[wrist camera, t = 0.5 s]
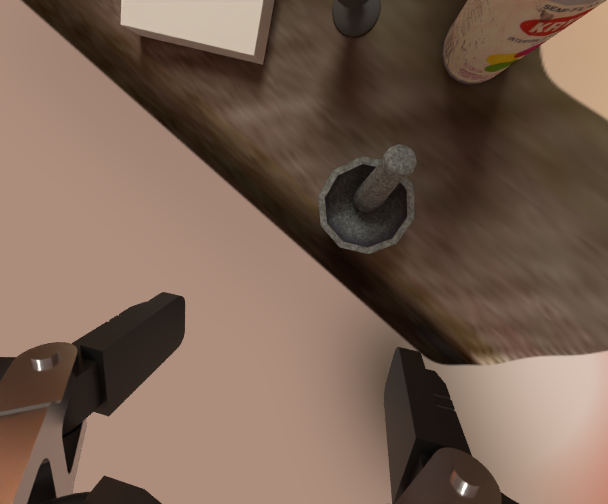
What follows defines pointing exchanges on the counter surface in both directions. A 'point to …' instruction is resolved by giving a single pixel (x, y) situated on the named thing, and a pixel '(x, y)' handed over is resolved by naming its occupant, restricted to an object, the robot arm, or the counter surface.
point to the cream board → (204, 24)
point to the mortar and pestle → (369, 201)
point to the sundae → (355, 15)
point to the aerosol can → (504, 33)
